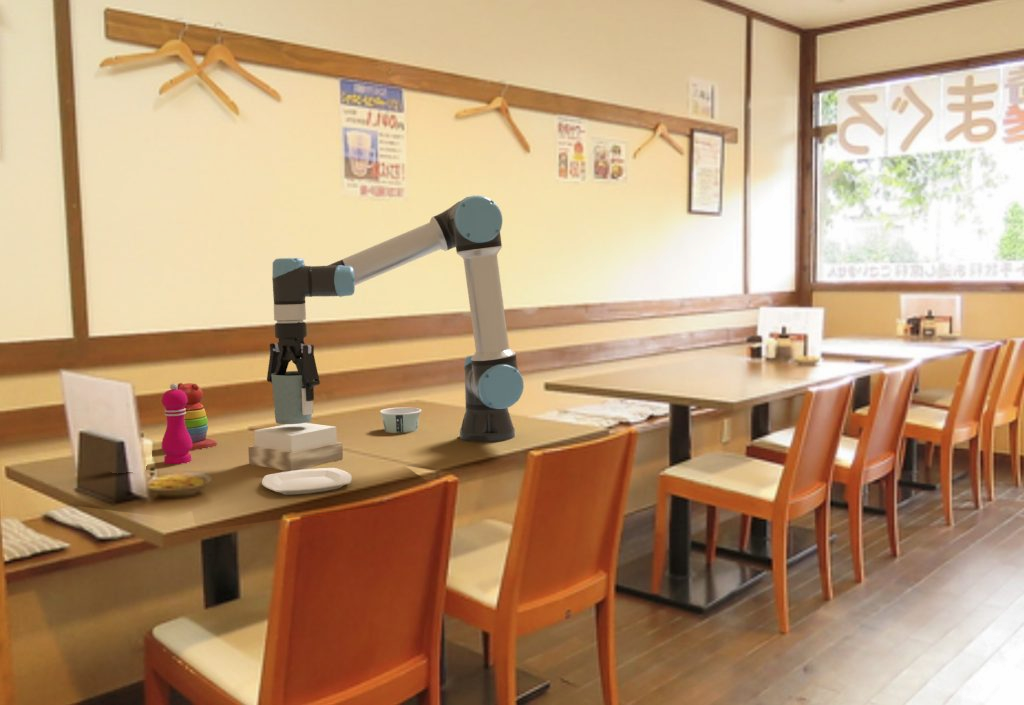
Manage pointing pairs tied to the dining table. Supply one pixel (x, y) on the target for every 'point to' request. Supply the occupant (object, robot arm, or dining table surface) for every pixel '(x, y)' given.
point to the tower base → (295, 457)
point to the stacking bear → (196, 417)
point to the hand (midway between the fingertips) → (294, 412)
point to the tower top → (295, 437)
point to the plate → (306, 480)
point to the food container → (400, 419)
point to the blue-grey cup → (288, 398)
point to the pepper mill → (176, 427)
